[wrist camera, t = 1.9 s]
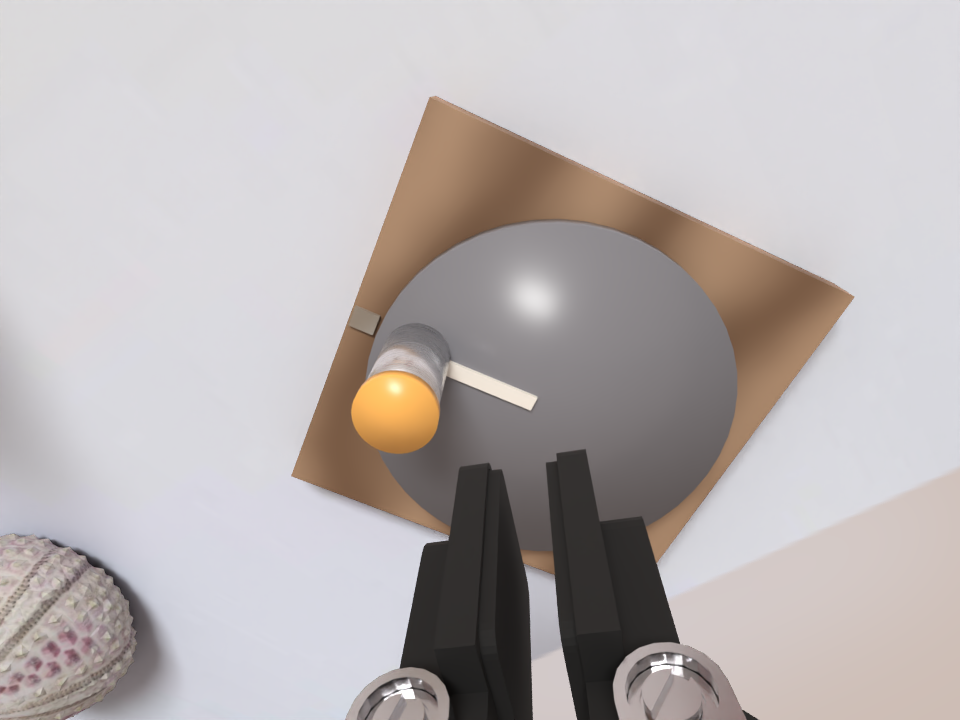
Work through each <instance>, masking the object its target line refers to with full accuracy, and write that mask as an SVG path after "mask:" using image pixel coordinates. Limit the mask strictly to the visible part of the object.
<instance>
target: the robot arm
mask: <svg viewBox="0 0 960 720" xmlns="http://www.w3.org/2000/svg"><path fill="white" fill-rule="evenodd" d="M556 457H557V461H554V462H546V473H547V485H548V497H549V509H550V522H551V534H552V546H553V558H554V570H555V582H556V595H557V607H558V618H559V627H560V635H561V642H562V648H563V652H564V658H565V663H566V668H567V672H568V677H569V682H570V686H571V691H572V697H573V702H574V706H575V711H576V716H577V720H758V719H757V718H755V717H753V716H752V715H750V714H749V713H747V712H745V711H744V710H742V709H741V706H740V704H739V702H738V700H737V698H736V696H735V694H734V691H733V689H732V687H731V685H730V683H729V681H728V679H727V678H726V676H725V675H724V673H723V672H722V670H721V669H720V667H719V666H718V665H717V664H716V663H715V662H714V661H712V660H711V659H710V658H709V657H708V656H707V655H705V654H704V653H702V652H700V651H698V650H696V649H694V648H692V647H690V646H686V645H681V644H680V642H679V638H678V635H677V632H676V628H675V625H674V621H673V618H672V615H671V611H670V608H669V605H668V601H667V598H666V594H665V591H664V588H663V584H662V581H661V577H660V574H659V571H658V567H657V564H656V560H655V557H654V554H653V550H652V547H651V543H650V540H649V537H648V533H647V530H646V526H645V523H644V520H643V518H642V516H640V517H632V518H624V519H616V520H608V521H600V520H599V515H598V510H597V505H596V500H595V495H594V489H593V484H592V479H591V474H590V469H589V464H588V458H587V453H586V449H581V450H574V451H567V452H560V453H556ZM345 720H533V712H532V678H531V643H530V608H529V590H528V583H527V577H526V573H525V568H524V564H523V559H522V555H521V551H520V546H519V542H518V537H517V533H516V528H515V524H514V519H513V515H512V510H511V506H510V501H509V497H508V493H507V488H506V484H505V479H504V475H503V471H502V469H496V470H492V468H491V465H490V463H483V464H476V465H468V466H461V467H460V468H459V472H458V479H457V486H456V494H455V501H454V508H453V515H452V522H451V529H450V536H449V541H441V542H433V543H427V544H426V545H425V546H424V549H423V552H422V557H421V562H420V567H419V572H418V577H417V582H416V587H415V593H414V598H413V603H412V608H411V613H410V618H409V623H408V628H407V634H406V639H405V644H404V649H403V654H402V659H401V664H400V669H395V670H393V671H390V672H388V673H386V674H383V675H381V676H379V677H378V678H376V679H375V680H374V681H372V682H371V683H370V684H368V685H367V686H366V687H365V688H364V689H363V690H362V692H361V693H360V694H359V695H358V696H357V697H356V699H355V700H354V702H353V704H352V706H351V708H350V710H349V712H348V714H347V716H346V719H345Z"/></svg>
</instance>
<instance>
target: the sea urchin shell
mask: <svg viewBox="0 0 960 720" xmlns="http://www.w3.org/2000/svg"><path fill="white" fill-rule="evenodd" d="M132 621H133V617H132V616H131V615H130V614H129V601H128V600H125V599H124V596H123V595H122V594H121V591H120V588H119V587H117V586H115V585H113V577H111V576H108V575H106V574H105V572H104V569H101V568H96V567H93V566H92V565H90V564H89V563H88V562H87V559H86V556H82V555H78V554H77V553H75V552H74V551H73V550H72V549H71V547H66V548H60V547H57V546H55V545H54V544H52V543H51V541H50V539H38V538H37V537H36V536H35V535H30V536H26V537H25V536H23V537H20V536H19V535H16V534H10V535H4V536H2V537H0V720H65V719H67V718H69V717H74V715H75V714H77V713H79V712H81V711H83V710H85V709H87V708H89V707H90V706H92V705H93V704H95V703H96V702H101V701H102V700H103V698H104V697H105V695H106V694H107V693H109V692H110V691H112V690H113V689H114V688H115V686H116V683H117V680H119V679H120V678H121V677H123V676H124V675H125V674H126V673H127V669H128V667H129V666H130V665H131V664H132V663H133V662H134V660H133V657H132V654H133V653H134V651H135V650H136V648H135V646H136V645H137V642H136V640H135V638H134V637H135V635H136V631H135V630H134V629H133V627H132V626H131V624H132Z"/></svg>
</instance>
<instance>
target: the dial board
mask: <svg viewBox="0 0 960 720" xmlns="http://www.w3.org/2000/svg"><path fill="white" fill-rule="evenodd" d="M540 219H567V220H578V221H587V222H591V223H596V224H600V225H604V226H609V227H612V228H615V229H618V230H620V231H623V232H626V233H628V234H631V235H633V236H636V237H638V238H640V239H641V240H643V241H645V242H647V243H649V244H651V245H652V246H654V247H656V248H658V249H659V250H661V251H662V252H663V253H665V254H666V255H667V256H669V257H670V258H671V259H673V260H674V261H675V262H677V263H678V264H679V265H680V266H681V267H682V268H683V269H684V270H685V271H686V272H687V273H688V274H689V275H690V276H691V277H692V278H693V279H694V280H695V281H696V282H697V283H698V285H699V286H700V287H701V288H702V289H703V291H704V292H705V293H706V295H707V296H708V298H709V299H710V300H711V302H712V303H713V304H714V306H715V307H716V309H717V311H718V313H719V315H720V317H721V319H722V321H723V323H724V325H725V327H726V329H727V332H728V335H729V338H730V341H731V344H732V347H733V350H734V356H735V362H736V368H737V400H736V407H735V414H734V418H733V422H732V425H731V428H730V432H729V435H728V438H727V440H726V442H725V444H724V446H723V449H722V451H721V453H720V455H719V457H718V458H717V460H716V462H715V463H714V465H713V466H712V468H711V470H710V471H709V473H708V474H707V475H706V477H705V478H704V479H703V480H702V481H701V483H700V484H699V485H698V486H697V487H696V489H695V490H694V491H693V492H692V493H691V494H690V495H689V496H688V497H686V498H685V499H684V500H683V501H682V502H681V503H680V504H679V505H678V506H677V507H675V508H674V509H673V510H671V511H670V512H668V513H667V514H666V515H664V516H663V517H662V518H660V519H659V520H657V521H655V522H653V523H652V524H650V525H648V526H646V530H647V533H648V537H649V540H650V543H651V547H652V550H653V554H654V557H655V560H656V563H657V562H658V560H659V559H660V558H661V556H662V555H663V554H664V552H665V551H666V550H667V548H668V547H669V546H670V544H671V543H672V542H673V540H674V539H675V538H676V536H677V535H678V534H679V532H680V531H681V530H682V528H683V527H684V526H685V524H686V523H687V521H688V520H689V519H690V517H691V516H692V515H693V513H694V512H695V511H696V509H697V508H698V507H699V505H700V504H701V503H702V501H703V500H704V499H705V497H706V496H707V495H708V493H709V492H710V491H711V489H712V488H713V487H714V485H715V484H716V483H717V481H718V480H719V479H720V477H721V476H722V474H723V473H724V472H725V470H726V469H727V468H728V466H729V465H730V464H731V462H732V461H733V460H734V458H735V457H736V456H737V454H738V453H739V452H740V450H741V449H742V448H743V446H744V445H745V444H746V442H747V441H748V440H749V438H750V437H751V436H752V434H753V433H754V431H755V430H756V429H757V427H758V426H759V425H760V423H761V422H762V421H763V419H764V418H765V417H766V415H767V414H768V413H769V411H770V410H771V409H772V407H773V406H774V405H775V403H776V402H777V401H778V399H779V398H780V397H781V395H782V394H783V393H784V391H785V390H786V388H787V387H788V386H789V384H790V383H791V382H792V380H793V379H794V378H795V376H796V375H797V374H798V372H799V371H800V370H801V368H802V367H803V366H804V364H805V363H806V362H807V360H808V359H809V358H810V356H811V355H812V354H813V352H814V351H815V350H816V348H817V347H818V345H819V344H820V343H821V341H822V340H823V339H824V337H825V336H826V335H827V333H828V332H829V331H830V329H831V328H832V327H833V325H834V324H835V323H836V321H837V320H838V319H839V317H840V316H841V315H842V313H843V312H844V311H845V309H846V308H847V307H848V305H849V304H850V302H851V301H852V300H853V298H854V296H852V295H851V294H849V293H848V292H846V291H845V290H843V289H841V288H840V287H838V286H837V285H835V284H833V283H832V282H829V281H827V280H825V279H823V278H821V277H819V276H817V275H815V274H812V273H810V272H808V271H806V270H804V269H802V268H800V267H798V266H795V265H793V264H791V263H789V262H787V261H785V260H783V259H781V258H778V257H776V256H774V255H772V254H770V253H768V252H766V251H764V250H761V249H759V248H757V247H755V246H753V245H751V244H749V243H747V242H744V241H742V240H740V239H738V238H736V237H734V236H732V235H730V234H727V233H725V232H723V231H721V230H719V229H717V228H715V227H713V226H711V225H708V224H706V223H704V222H702V221H700V220H698V219H696V218H694V217H691V216H689V215H687V214H685V213H683V212H681V211H679V210H677V209H674V208H672V207H670V206H668V205H666V204H664V203H662V202H660V201H657V200H655V199H653V198H651V197H649V196H647V195H645V194H643V193H640V192H638V191H636V190H634V189H632V188H630V187H628V186H626V185H623V184H621V183H619V182H617V181H615V180H613V179H611V178H609V177H606V176H604V175H602V174H600V173H598V172H596V171H594V170H592V169H589V168H587V167H585V166H583V165H581V164H579V163H577V162H575V161H572V160H570V159H568V158H566V157H564V156H562V155H560V154H558V153H555V152H553V151H551V150H549V149H547V148H545V147H543V146H541V145H538V144H536V143H534V142H532V141H530V140H528V139H526V138H524V137H521V136H519V135H517V134H515V133H513V132H511V131H509V130H507V129H504V128H502V127H500V126H498V125H496V124H494V123H492V122H490V121H487V120H485V119H483V118H481V117H479V116H477V115H475V114H473V113H470V112H468V111H466V110H464V109H462V108H460V107H458V106H456V105H453V104H451V103H449V102H447V101H445V100H443V99H441V98H439V97H436V96H434V97H430V98H429V101H428V103H427V106H426V109H425V112H424V114H423V117H422V120H421V122H420V125H419V128H418V131H417V133H416V136H415V139H414V142H413V144H412V147H411V150H410V153H409V155H408V158H407V161H406V163H405V166H404V169H403V172H402V174H401V177H400V180H399V183H398V185H397V188H396V191H395V194H394V196H393V199H392V202H391V205H390V207H389V210H388V213H387V215H386V218H385V221H384V224H383V226H382V229H381V232H380V235H379V237H378V240H377V243H376V246H375V248H374V251H373V254H372V257H371V259H370V262H369V265H368V267H367V270H366V273H365V276H364V278H363V281H362V284H361V287H360V289H359V292H358V295H357V298H356V300H355V303H354V306H353V309H352V311H351V314H350V317H349V319H348V322H347V325H346V328H345V330H344V333H343V336H342V339H341V341H340V344H339V347H338V350H337V352H336V355H335V358H334V361H333V363H332V366H331V369H330V371H329V374H328V377H327V380H326V382H325V385H324V388H323V391H322V393H321V396H320V399H319V402H318V404H317V407H316V410H315V413H314V415H313V418H312V421H311V423H310V426H309V429H308V432H307V434H306V437H305V440H304V443H303V445H302V448H301V451H300V454H299V456H298V459H297V462H296V465H295V467H294V470H293V473H292V475H291V476H293V477H295V478H298V479H301V480H303V481H306V482H309V483H311V484H314V485H317V486H319V487H322V488H324V489H327V490H330V491H332V492H335V493H338V494H340V495H343V496H346V497H348V498H351V499H354V500H356V501H359V502H362V503H364V504H367V505H370V506H372V507H375V508H378V509H380V510H383V511H386V512H388V513H391V514H394V515H396V516H399V517H402V518H404V519H407V520H410V521H412V522H415V523H418V524H420V525H423V526H426V527H428V528H431V529H434V530H436V531H439V532H442V533H444V534H447V535H450V529H451V527H450V526H448V525H447V524H445V523H443V522H441V521H440V520H438V519H437V518H435V517H434V516H433V515H431V514H430V513H429V512H427V511H426V510H424V509H423V508H422V507H421V506H420V505H419V504H417V503H416V502H415V501H414V500H413V499H412V498H411V497H410V496H409V495H408V494H407V493H406V492H405V491H404V490H403V488H402V487H401V486H400V485H399V483H398V482H397V481H396V480H395V479H394V477H393V476H392V474H391V473H390V471H389V469H388V468H387V466H386V465H385V463H384V461H383V460H382V458H381V455H380V453H379V451H378V449H376V448H374V447H372V446H371V445H369V444H368V443H367V442H366V441H364V440H363V439H362V438H361V436H360V435H359V434H358V432H357V431H356V429H355V427H354V424H353V421H352V416H351V409H352V404H353V400H354V398H355V396H356V394H357V392H358V390H359V388H360V387H361V385H362V384H363V383H364V382H365V379H366V373H367V366H368V359H369V356H370V352H371V349H372V346H373V343H374V339H375V337H376V334H377V332H378V330H379V328H380V326H381V324H382V322H383V320H384V318H385V316H386V314H387V312H388V310H389V308H390V307H391V306H392V304H393V303H394V301H395V300H396V298H397V297H398V295H399V294H400V292H401V291H402V289H403V288H404V287H405V286H406V285H407V284H408V283H409V281H410V280H411V279H412V278H413V277H414V276H415V275H416V274H417V273H418V272H419V271H420V270H421V269H422V268H423V267H424V266H426V265H427V264H428V263H429V262H430V261H432V260H433V259H434V258H435V257H436V256H438V255H439V254H441V253H443V252H444V251H446V250H447V249H449V248H450V247H452V246H454V245H455V244H457V243H458V242H461V241H463V240H465V239H467V238H469V237H472V236H474V235H476V234H478V233H480V232H483V231H486V230H489V229H493V228H496V227H499V226H502V225H506V224H511V223H517V222H523V221H528V220H540ZM520 551H521V555H522V559H523V563H524V564H527V565H530V566H532V567H535V568H538V569H540V570H543V571H546V572H548V573H551V574H554V575H555V570H554V558H553V551H531V550H521V549H520Z"/></svg>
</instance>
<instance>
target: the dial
mask: <svg viewBox="0 0 960 720" xmlns="http://www.w3.org/2000/svg"><path fill="white" fill-rule="evenodd" d="M736 400H737V368H736V362H735V356H734V350H733V347H732V344H731V341H730V338H729V335H728V332H727V329H726V327H725V325H724V323H723V321H722V319H721V317H720V315H719V313H718V311H717V309H716V307H715V306H714V304H713V303H712V302H711V300H710V299H709V298H708V296H707V295H706V293H705V292H704V291H703V289H702V288H701V287H700V286H699V285H698V283H697V282H696V281H695V280H694V279H693V278H692V277H691V276H690V275H689V274H688V273H687V272H686V271H685V270H684V269H683V268H682V267H681V266H680V265H679V264H678V263H677V262H675V261H674V260H673V259H671V258H670V257H669V256H667V255H666V254H665V253H663V252H662V251H661V250H659V249H658V248H656V247H654V246H652V245H651V244H649V243H647V242H645V241H643V240H641V239H640V238H638V237H636V236H633V235H631V234H628V233H626V232H623V231H620V230H618V229H615V228H612V227H609V226H604V225H600V224H596V223H591V222H587V221H578V220H567V219H540V220H528V221H523V222H517V223H511V224H506V225H502V226H499V227H496V228H493V229H489V230H486V231H483V232H480V233H478V234H476V235H474V236H472V237H469V238H467V239H465V240H463V241H461V242H458V243H457V244H455V245H454V246H452V247H450V248H449V249H447V250H446V251H444V252H443V253H441V254H439V255H438V256H436V257H435V258H434V259H433V260H432V261H430V262H429V263H428V264H427V265H426V266H424V267H423V268H422V269H421V270H420V271H419V272H418V273H417V274H416V275H415V276H414V277H413V278H412V279H411V280H410V281H409V283H408V284H407V285H406V286H405V287H404V288H403V289H402V291H401V292H400V294H399V295H398V297H397V298H396V300H395V301H394V303H393V304H392V306H391V307H390V308H389V310H388V312H387V314H386V316H385V318H384V320H383V322H382V324H381V326H380V328H379V330H378V332H377V334H376V337H375V339H374V343H373V346H372V349H371V352H370V356H369V359H368V366H367V373H366V379H365V382H364V383H363V384H362V385H361V387H360V388H359V390H358V392H357V394H356V396H355V398H354V400H353V404H352V409H351V416H352V421H353V424H354V427H355V429H356V431H357V432H358V434H359V435H360V436H361V438H362V439H363V440H364V441H366V442H367V443H368V444H369V445H371V446H372V447H374V448H376V449H378V451H379V453H380V455H381V458H382V460H383V461H384V463H385V465H386V466H387V468H388V469H389V471H390V473H391V474H392V476H393V477H394V479H395V480H396V481H397V482H398V483H399V485H400V486H401V487H402V488H403V490H404V491H405V492H406V493H407V494H408V495H409V496H410V497H411V498H412V499H413V500H414V501H415V502H416V503H417V504H419V505H420V506H421V507H422V508H423V509H424V510H426V511H427V512H429V513H430V514H431V515H433V516H434V517H435V518H437V519H438V520H440V521H441V522H443V523H445V524H447V525H448V526H450V527H451V522H452V515H453V508H454V501H455V494H456V486H457V479H458V472H459V468H460V467H461V466H468V465H476V464H483V463H490V465H491V468H492V470H496V469H502V471H503V475H504V479H505V484H506V488H507V493H508V497H509V501H510V506H511V510H512V515H513V519H514V524H515V528H516V533H517V537H518V542H519V546H520V549H521V550H531V551H553V546H552V534H551V522H550V509H549V497H548V485H547V473H546V462H554V461H557V457H556V453H560V452H567V451H574V450H581V449H586V453H587V458H588V464H589V469H590V474H591V479H592V484H593V489H594V495H595V500H596V505H597V510H598V515H599V520H600V521H608V520H616V519H624V518H632V517H640V516H642V518H643V520H644V523H645V526H648V525H650V524H652V523H653V522H655V521H657V520H659V519H660V518H662V517H663V516H664V515H666V514H667V513H668V512H670V511H671V510H673V509H674V508H675V507H677V506H678V505H679V504H680V503H681V502H682V501H683V500H684V499H685V498H686V497H688V496H689V495H690V494H691V493H692V492H693V491H694V490H695V489H696V487H697V486H698V485H699V484H700V483H701V481H702V480H703V479H704V478H705V477H706V475H707V474H708V473H709V471H710V470H711V468H712V466H713V465H714V463H715V462H716V460H717V458H718V457H719V455H720V453H721V451H722V449H723V446H724V444H725V442H726V440H727V438H728V435H729V432H730V428H731V425H732V422H733V418H734V414H735V407H736Z"/></svg>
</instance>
